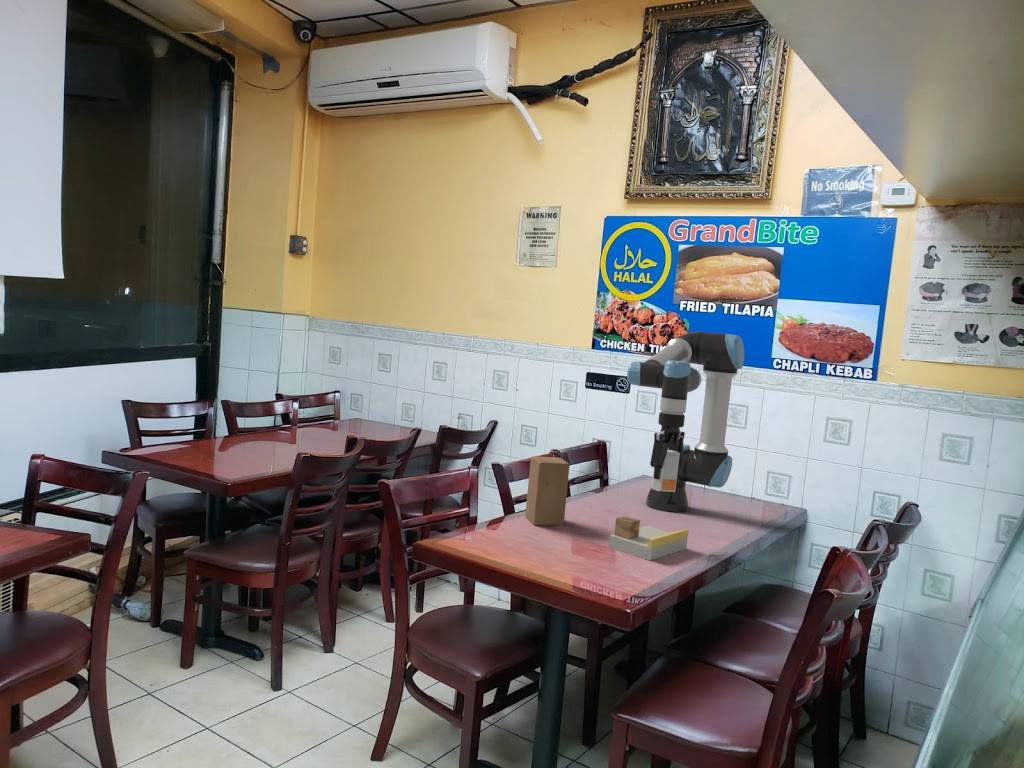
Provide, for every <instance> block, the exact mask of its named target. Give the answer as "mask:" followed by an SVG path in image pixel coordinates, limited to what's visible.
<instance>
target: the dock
mask: <svg viewBox="0 0 1024 768" xmlns="http://www.w3.org/2000/svg"><path fill="white" fill-rule="evenodd" d="M688 537H689V529H688V528H683V529H678V530H676V531H673V532H670V531H666V530H663V529H659V528H658V527H657V528H656V527H653V526H650V525H645V526H641V527H639V535H638V537H636V538H633V539H625V538H622V537H619V536H616V535H614V534H610V535H609V541H608V548H610V549H613V550H616V551H619V552H622V553H625V554H629V555H632V556H634V557H637V558H641V559H642V560H643V559H644V560H646V559H647V561H649V560H651V561H653V560H652V559H654V560H656V558H657V559H659V557H660V558H662V556H663V557H667V556H669V555H672V553H673V554H675V552H676V553H678V551H679V552H681V550H682V551H684V549H685V550H687V547H688ZM668 554H669V555H668Z"/></svg>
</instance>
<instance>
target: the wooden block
mask: <svg viewBox="0 0 1024 768" xmlns="http://www.w3.org/2000/svg"><path fill="white" fill-rule="evenodd" d="M528 473H529V475H528V481H527V483H528V484H527V493H526V494H527V495H526V505H525V515H524V517H525V516H526V517H527V518H528V519H529V520H530V521H531V522H532V523H533V524H534V525H533V524H532V523H531V522H530V521H529V520H528V519H527V518H526V517H525V518H526V519H527V520H528V521H529V522H530V523H531V524H532V525H533V526H546V525H550V526H551V525H552V526H554V527H559V526H560V527H561V526H563V527H564V524H565V514H566V506H567V505H566V504H567V496H568V495H567V494H568V485H569V475H570V463H569V462H567V461H566V460H564V459H563V458H561V457H557V456H556V457H555V456H537V455H536V456H531V457H530V463H529V472H528ZM552 526H551V527H552Z"/></svg>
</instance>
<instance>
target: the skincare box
mask: <svg viewBox="0 0 1024 768" xmlns="http://www.w3.org/2000/svg"><path fill="white" fill-rule="evenodd" d="M679 457H680V453H679V452H676V451H673V450H668V451H667V454H666V457H665V460H664V464H663V467H662V469H664V472H663V481H662V490H661V491H666V492H675V488H676V481H677V473H678V465H679ZM653 477H654V470H653V473H652V478H653ZM652 486H653V479H652V481H651V487H652ZM656 491H658V490H656Z"/></svg>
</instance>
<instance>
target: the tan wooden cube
mask: <svg viewBox="0 0 1024 768" xmlns="http://www.w3.org/2000/svg"><path fill="white" fill-rule="evenodd" d="M640 524H641V519H638V518H633V517H630V516H628V515H625V516H619V517H616V518H615V526H614V535H616V536H619V537H622V538H625V539H633V538H636V537H638V535H639V528H640V526H641V525H640Z"/></svg>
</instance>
